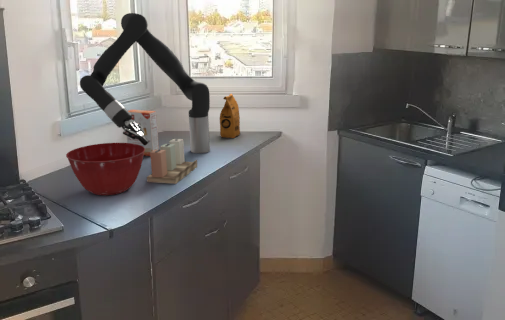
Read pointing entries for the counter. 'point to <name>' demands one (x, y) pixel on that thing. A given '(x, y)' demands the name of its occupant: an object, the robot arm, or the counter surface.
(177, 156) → the grey rectangular block
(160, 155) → the key
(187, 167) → the board
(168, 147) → the grey green block
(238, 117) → the coffee package
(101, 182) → the mixing bowl
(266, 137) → the counter surface
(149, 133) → the cracker box
